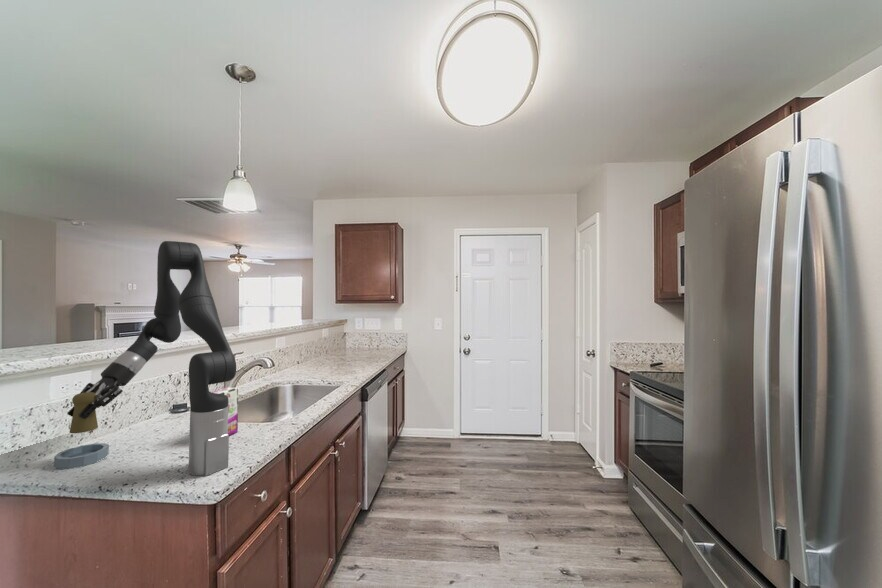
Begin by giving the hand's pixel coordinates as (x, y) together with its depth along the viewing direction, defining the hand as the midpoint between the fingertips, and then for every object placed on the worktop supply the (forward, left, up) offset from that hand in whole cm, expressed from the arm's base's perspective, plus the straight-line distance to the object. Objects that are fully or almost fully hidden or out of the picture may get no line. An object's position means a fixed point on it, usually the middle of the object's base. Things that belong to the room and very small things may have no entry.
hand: (76, 416), depth 103 cm
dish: (0, -2, -14) cm, 14 cm away
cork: (0, -2, -5) cm, 5 cm away
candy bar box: (-18, -32, -14) cm, 39 cm away
